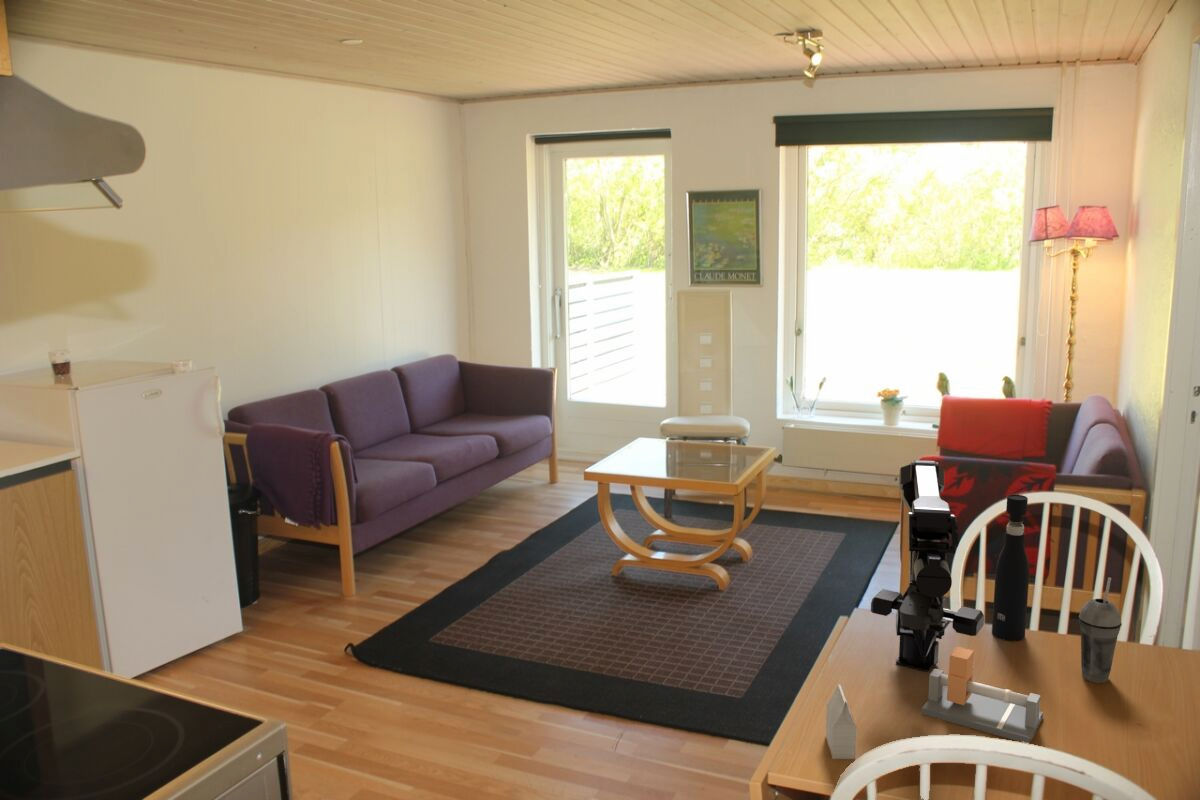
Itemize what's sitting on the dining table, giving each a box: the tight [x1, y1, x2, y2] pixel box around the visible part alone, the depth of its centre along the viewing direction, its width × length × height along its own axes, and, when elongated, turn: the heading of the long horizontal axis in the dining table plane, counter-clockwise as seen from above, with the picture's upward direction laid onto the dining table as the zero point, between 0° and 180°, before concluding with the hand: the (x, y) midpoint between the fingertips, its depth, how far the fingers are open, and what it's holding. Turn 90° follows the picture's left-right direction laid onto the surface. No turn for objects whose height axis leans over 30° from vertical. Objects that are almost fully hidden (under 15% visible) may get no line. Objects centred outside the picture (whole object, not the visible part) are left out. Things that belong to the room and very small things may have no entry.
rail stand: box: [921, 668, 1044, 744], centre depth 172 cm, size 18×10×6 cm, turn 55°
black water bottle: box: [991, 493, 1031, 642], centre depth 200 cm, size 6×6×30 cm
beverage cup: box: [1078, 576, 1122, 684], centre depth 183 cm, size 7×7×20 cm
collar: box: [947, 646, 975, 705], centre depth 173 cm, size 3×5×8 cm, turn 144°
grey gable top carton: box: [825, 683, 857, 760], centre depth 163 cm, size 4×7×10 cm, turn 176°
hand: (924, 655), depth 177 cm, fingers closed
